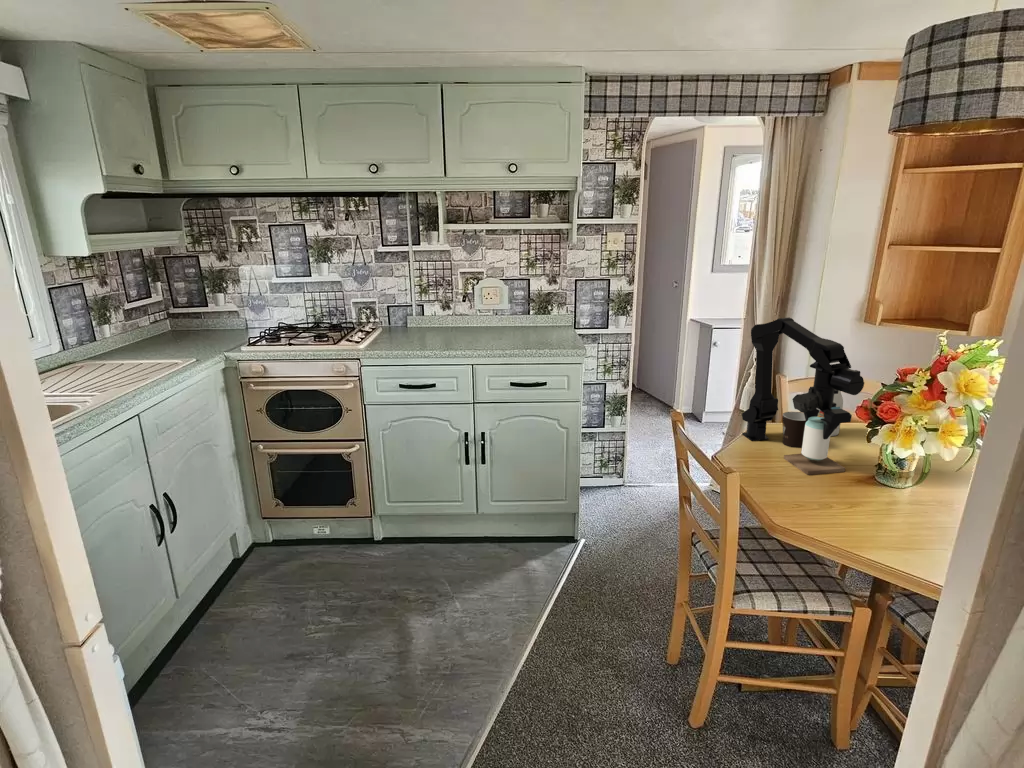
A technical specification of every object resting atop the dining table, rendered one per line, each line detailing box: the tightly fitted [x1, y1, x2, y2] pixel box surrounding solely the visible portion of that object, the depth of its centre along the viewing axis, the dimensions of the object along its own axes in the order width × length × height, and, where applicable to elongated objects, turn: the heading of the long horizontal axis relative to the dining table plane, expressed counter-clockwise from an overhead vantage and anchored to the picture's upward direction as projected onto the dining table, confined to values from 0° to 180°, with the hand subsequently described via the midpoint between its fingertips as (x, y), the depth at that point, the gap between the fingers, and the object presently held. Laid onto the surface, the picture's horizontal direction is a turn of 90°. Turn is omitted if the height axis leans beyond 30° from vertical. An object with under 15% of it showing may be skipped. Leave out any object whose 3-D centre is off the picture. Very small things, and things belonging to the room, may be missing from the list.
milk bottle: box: [817, 390, 844, 437], centre depth 197 cm, size 8×8×20 cm
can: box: [800, 417, 831, 460], centre depth 173 cm, size 7×7×12 cm
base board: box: [783, 453, 846, 476], centre depth 175 cm, size 12×12×1 cm
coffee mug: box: [782, 411, 806, 449], centre depth 191 cm, size 12×9×10 cm
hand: (817, 434), depth 173 cm, fingers closed on can, 7 cm apart
